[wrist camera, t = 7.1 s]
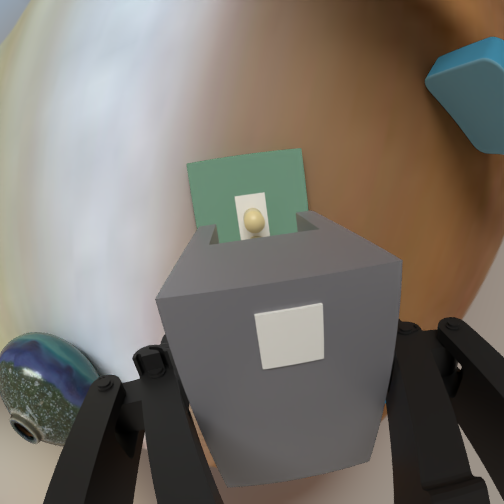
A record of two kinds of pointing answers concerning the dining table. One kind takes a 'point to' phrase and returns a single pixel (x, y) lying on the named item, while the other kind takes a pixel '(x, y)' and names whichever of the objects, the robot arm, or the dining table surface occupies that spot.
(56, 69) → the dining table surface
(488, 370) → the robot arm
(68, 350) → the vase
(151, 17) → the dining table surface
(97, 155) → the dining table surface
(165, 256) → the dining table surface
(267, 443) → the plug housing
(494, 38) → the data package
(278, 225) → the header board
